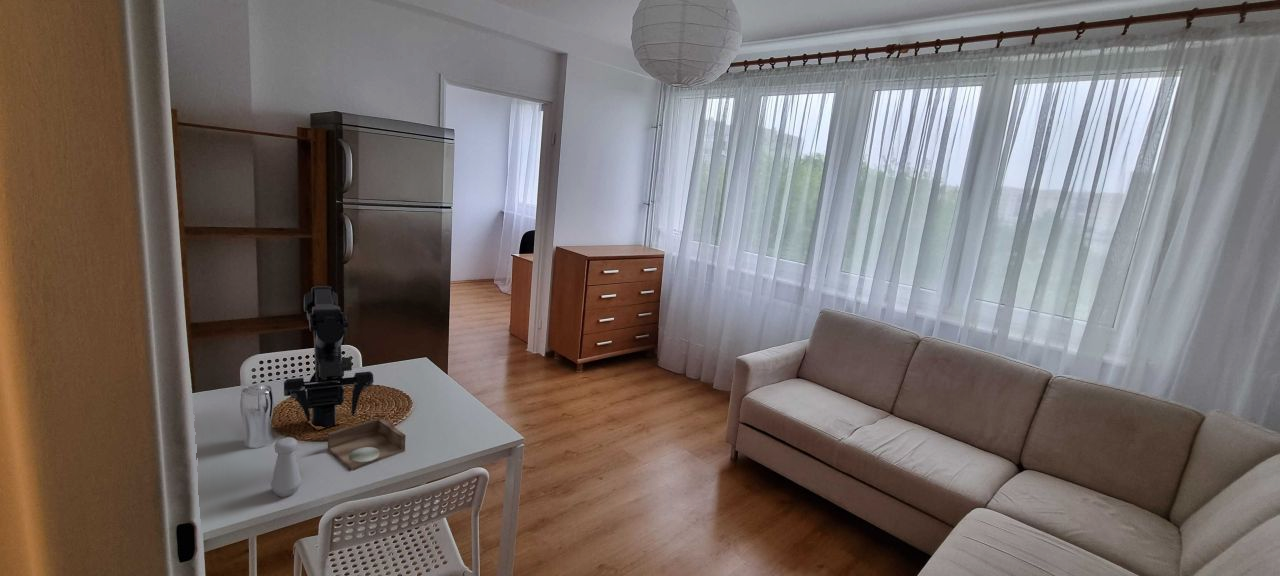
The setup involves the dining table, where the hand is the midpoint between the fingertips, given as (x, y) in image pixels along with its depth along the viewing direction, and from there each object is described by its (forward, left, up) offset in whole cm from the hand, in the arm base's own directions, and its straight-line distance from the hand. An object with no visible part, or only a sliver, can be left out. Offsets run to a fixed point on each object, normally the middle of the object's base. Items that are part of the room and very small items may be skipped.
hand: (331, 418), depth 126 cm
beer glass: (-25, -7, -15) cm, 30 cm away
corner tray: (-4, +11, -15) cm, 19 cm away
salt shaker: (+1, -10, -15) cm, 18 cm away
